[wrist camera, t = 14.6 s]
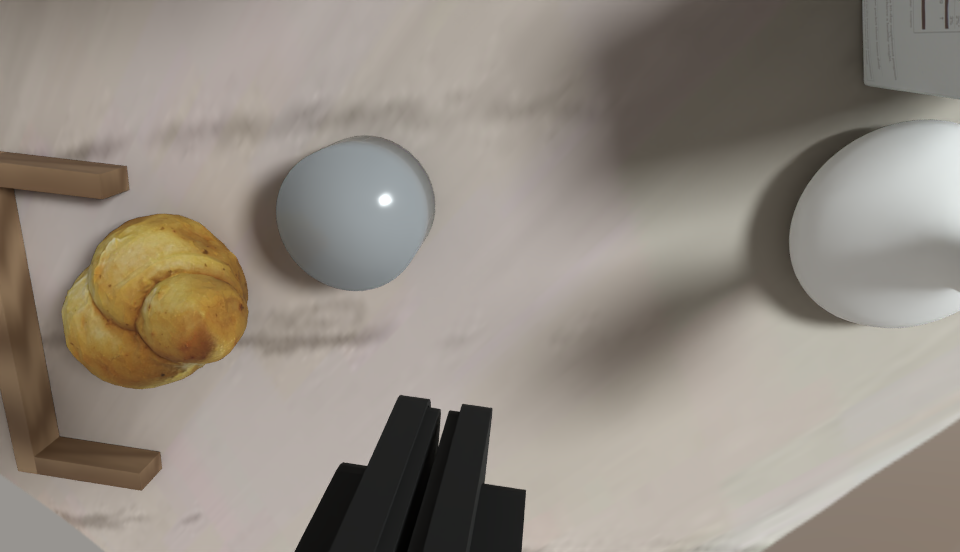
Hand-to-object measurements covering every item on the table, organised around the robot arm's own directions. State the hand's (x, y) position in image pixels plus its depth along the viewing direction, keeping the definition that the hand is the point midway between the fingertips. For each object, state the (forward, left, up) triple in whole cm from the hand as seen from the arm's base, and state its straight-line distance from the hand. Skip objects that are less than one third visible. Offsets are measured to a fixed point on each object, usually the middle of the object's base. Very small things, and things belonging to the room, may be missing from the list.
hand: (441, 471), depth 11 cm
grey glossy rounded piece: (+3, -9, -27) cm, 29 cm away
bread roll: (+11, -22, -27) cm, 37 cm away
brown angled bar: (+14, -29, -27) cm, 42 cm away
